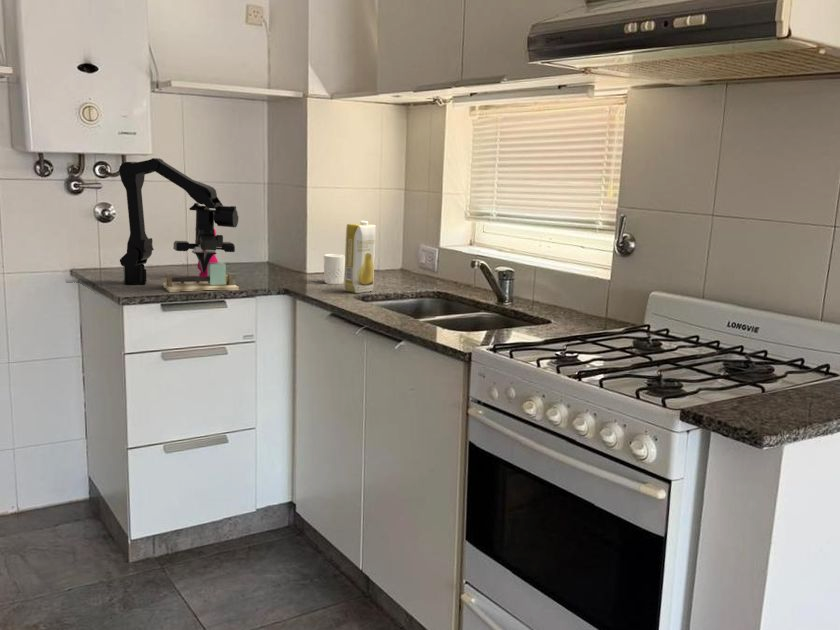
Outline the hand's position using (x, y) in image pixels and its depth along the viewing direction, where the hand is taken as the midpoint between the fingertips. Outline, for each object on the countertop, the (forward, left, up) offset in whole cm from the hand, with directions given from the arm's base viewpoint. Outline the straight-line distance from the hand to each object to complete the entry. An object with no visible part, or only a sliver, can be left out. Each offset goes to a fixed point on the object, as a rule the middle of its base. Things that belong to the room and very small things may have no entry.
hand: (203, 272), depth 260 cm
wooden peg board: (-1, 0, -5) cm, 5 cm away
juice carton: (+49, -15, -5) cm, 51 cm away
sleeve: (+4, 0, -4) cm, 6 cm away
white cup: (+47, +3, -5) cm, 47 cm away
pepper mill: (+6, +20, -5) cm, 21 cm away
